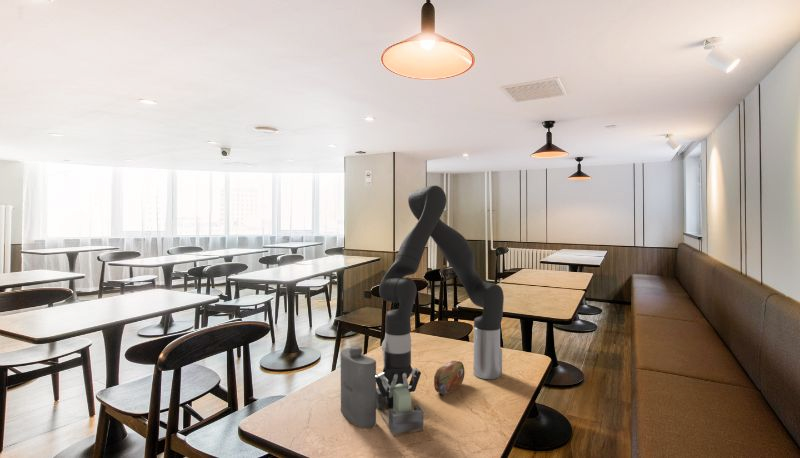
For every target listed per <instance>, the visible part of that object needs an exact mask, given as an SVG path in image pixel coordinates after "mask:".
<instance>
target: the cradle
mask: <svg viewBox="0 0 800 458" xmlns="http://www.w3.org/2000/svg"><path fill="white" fill-rule="evenodd" d="M384 388H385V390H386V387H384ZM376 411H377V412H378V413H379V415H380V416H381V418H382V420H383V422H384V423H385V425H386V427H387V429H388V430H389V432H390V433H391V434H392V437H397V436H401V435H405V434H411V433H412V434H413V433H418V432H423V431H424V410H423V409H422V408H421V407H420V404H413V410H411V411H408V412H402V413H397V414H396V412H395V411H394V409H389V408H388V406H387V403H386V396H385V397H383V395H382V394H381V392H380V390H379V388H378V387H376Z"/></svg>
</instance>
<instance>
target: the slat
mask: <svg viewBox="0 0 800 458" xmlns="http://www.w3.org/2000/svg"><path fill="white" fill-rule="evenodd" d="M387 382H388V380H387V379H386V390H387ZM392 397H393V409H394V411H395V412H396V414H397V413H402V412H408V411H412V394H411V392H409V391H408V390H407V389H406V388H404V387H403V385H402V384H397V385H396V386H395V390H393V396H392ZM386 403H387V396H386Z"/></svg>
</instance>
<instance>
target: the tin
mask: <svg viewBox="0 0 800 458" xmlns="http://www.w3.org/2000/svg"><path fill="white" fill-rule="evenodd" d="M433 376H434V377H433V386H434V390H435V392H436V393H438V394H440V395H443V396H446V395H448V394H450V393H452V392H453V391H454V390H456V389H458V388H460V387H461V385H462V383H463V381H464V379H465V365H464V364H463V362H461V361H460V360H459V361H458V360H451V361H449V362H448V363H446V364H444V365H442V366H440V367H439V368H437V370H436V372H435V374H434V375H433Z"/></svg>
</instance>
